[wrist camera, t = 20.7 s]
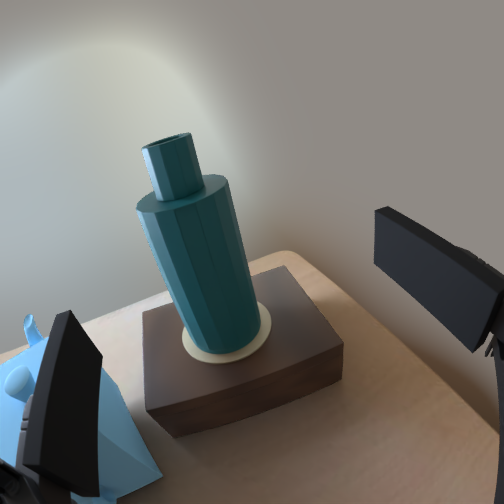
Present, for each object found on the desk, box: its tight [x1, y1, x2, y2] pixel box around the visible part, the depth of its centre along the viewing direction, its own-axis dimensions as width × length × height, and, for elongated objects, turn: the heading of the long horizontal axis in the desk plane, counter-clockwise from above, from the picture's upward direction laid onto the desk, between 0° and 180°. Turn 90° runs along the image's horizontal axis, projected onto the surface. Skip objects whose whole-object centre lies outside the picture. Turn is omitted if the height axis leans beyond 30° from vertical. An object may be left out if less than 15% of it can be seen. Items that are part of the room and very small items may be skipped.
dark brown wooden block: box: [142, 265, 344, 438], centre depth 30 cm, size 18×14×6 cm
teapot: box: [0, 314, 163, 504], centre depth 20 cm, size 22×11×14 cm, turn 37°
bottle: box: [136, 133, 261, 354], centre depth 23 cm, size 7×7×18 cm
